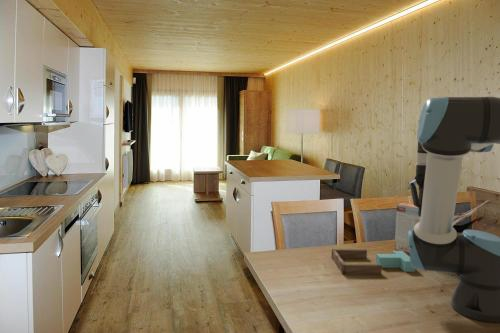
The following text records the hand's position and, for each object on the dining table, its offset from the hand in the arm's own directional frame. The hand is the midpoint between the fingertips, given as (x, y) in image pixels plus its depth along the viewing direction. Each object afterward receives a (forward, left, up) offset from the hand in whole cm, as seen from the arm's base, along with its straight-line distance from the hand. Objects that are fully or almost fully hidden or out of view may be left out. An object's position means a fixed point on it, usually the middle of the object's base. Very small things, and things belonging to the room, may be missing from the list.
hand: (423, 224), depth 150 cm
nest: (0, +26, -16) cm, 31 cm away
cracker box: (+14, -3, -17) cm, 22 cm away
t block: (0, +11, -16) cm, 20 cm away
